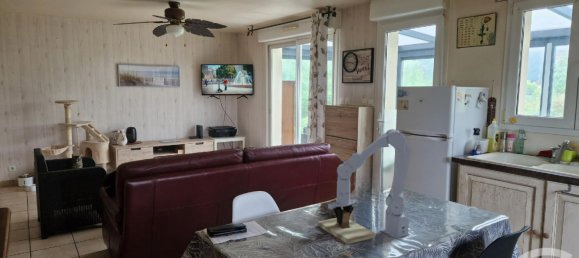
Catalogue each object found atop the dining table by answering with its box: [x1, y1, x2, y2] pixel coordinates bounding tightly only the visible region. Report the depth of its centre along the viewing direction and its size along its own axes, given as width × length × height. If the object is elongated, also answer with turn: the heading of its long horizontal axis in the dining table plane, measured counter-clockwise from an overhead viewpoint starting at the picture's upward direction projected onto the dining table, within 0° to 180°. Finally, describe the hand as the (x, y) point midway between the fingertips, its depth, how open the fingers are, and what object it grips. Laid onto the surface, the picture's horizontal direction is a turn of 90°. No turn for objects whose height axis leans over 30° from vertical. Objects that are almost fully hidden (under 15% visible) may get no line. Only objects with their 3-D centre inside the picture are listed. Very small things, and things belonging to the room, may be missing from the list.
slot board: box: [317, 217, 376, 245], centre depth 160 cm, size 22×14×2 cm, turn 28°
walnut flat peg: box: [337, 210, 350, 229], centre depth 161 cm, size 5×3×7 cm, turn 28°
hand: (342, 222), depth 162 cm, fingers closed on walnut flat peg, 3 cm apart
